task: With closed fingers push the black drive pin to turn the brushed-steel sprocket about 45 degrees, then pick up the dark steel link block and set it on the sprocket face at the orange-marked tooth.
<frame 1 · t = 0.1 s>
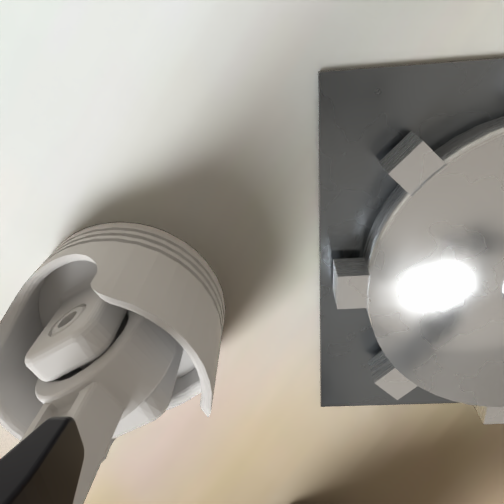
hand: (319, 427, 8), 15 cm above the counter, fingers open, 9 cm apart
engine component: (128, 307, 25), on the counter
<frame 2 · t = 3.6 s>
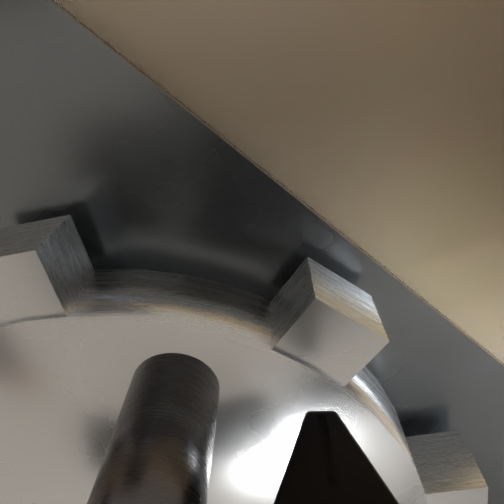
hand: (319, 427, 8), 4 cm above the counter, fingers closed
cover plate: (159, 471, 14), on the counter
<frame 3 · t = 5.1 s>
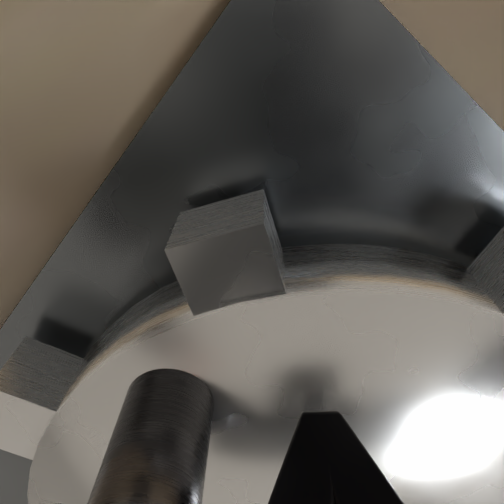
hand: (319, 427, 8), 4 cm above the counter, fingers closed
cover plate: (317, 457, 14), on the counter
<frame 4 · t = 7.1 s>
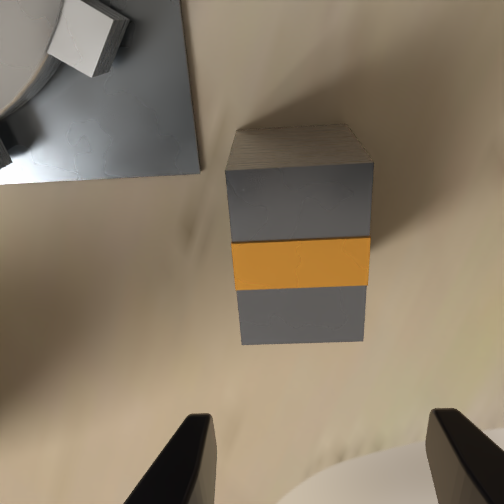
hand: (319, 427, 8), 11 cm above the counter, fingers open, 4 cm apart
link: (292, 202, 18), on the counter
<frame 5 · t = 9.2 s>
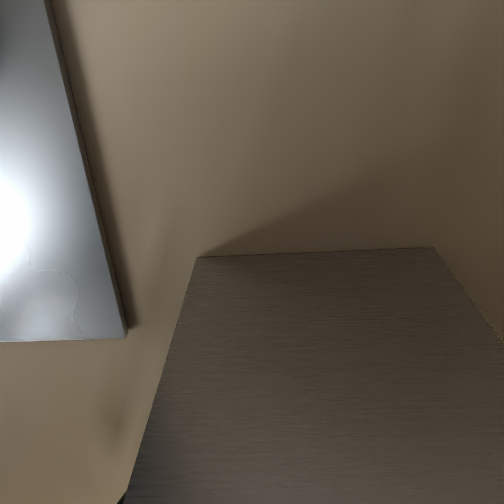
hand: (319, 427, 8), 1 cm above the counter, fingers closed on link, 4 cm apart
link: (313, 385, 9), on the counter, touching gripper
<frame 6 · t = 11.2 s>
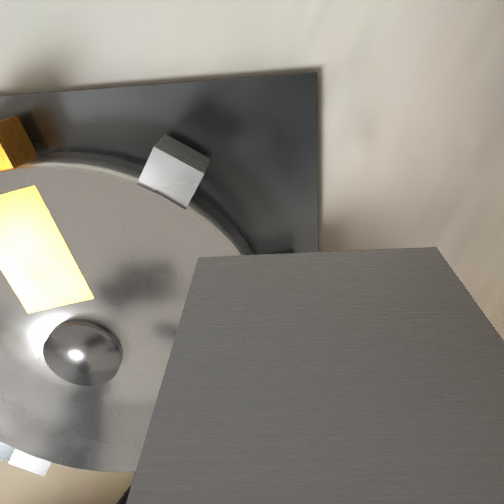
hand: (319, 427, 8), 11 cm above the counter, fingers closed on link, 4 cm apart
cover plate: (105, 312, 20), on the counter
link: (315, 385, 9), point 10 cm above the counter, touching gripper
sprocket: (73, 371, 17), point 4 cm above the counter, hinge at 56.5°
when the fingers open (5 cm above the counter, at t = 13.1 s): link drops 1 cm, resting on sprocket.
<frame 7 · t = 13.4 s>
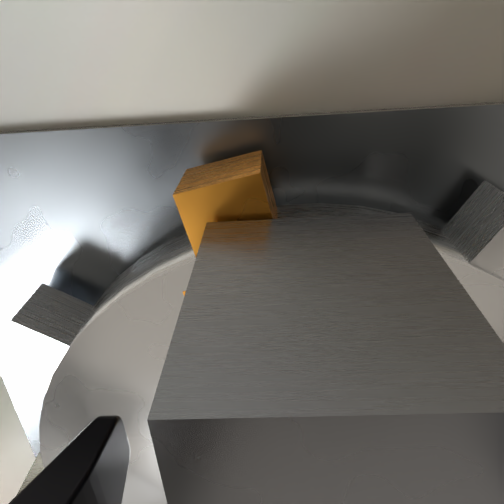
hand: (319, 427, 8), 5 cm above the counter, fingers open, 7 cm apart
cover plate: (304, 411, 15), on the counter
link: (308, 338, 10), point 3 cm above the counter, touching sprocket
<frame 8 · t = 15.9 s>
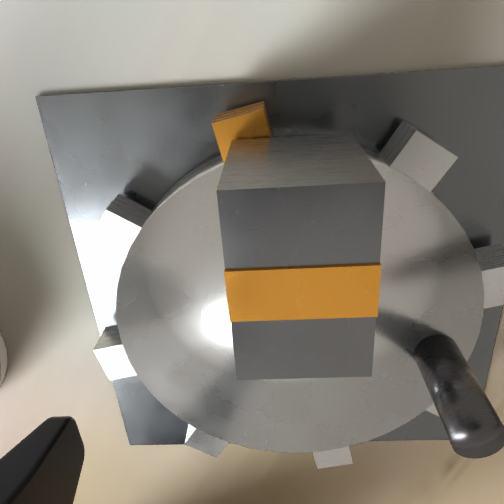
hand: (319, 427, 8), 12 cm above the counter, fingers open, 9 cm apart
cover plate: (293, 296, 21), on the counter
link: (293, 219, 17), point 3 cm above the counter, touching sprocket
sprocket: (298, 348, 18), point 4 cm above the counter, hinge at 56.5°, touching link
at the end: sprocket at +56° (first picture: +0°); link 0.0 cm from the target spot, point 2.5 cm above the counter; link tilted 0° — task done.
